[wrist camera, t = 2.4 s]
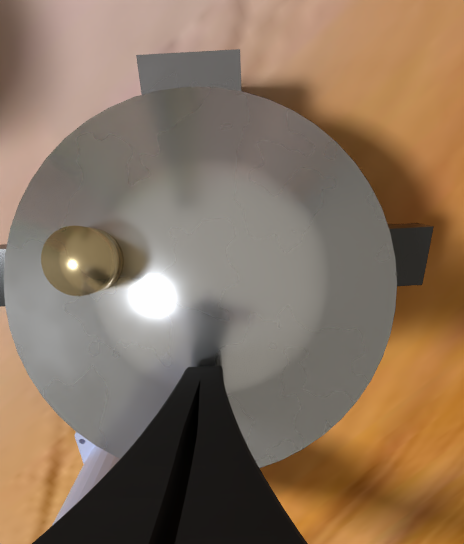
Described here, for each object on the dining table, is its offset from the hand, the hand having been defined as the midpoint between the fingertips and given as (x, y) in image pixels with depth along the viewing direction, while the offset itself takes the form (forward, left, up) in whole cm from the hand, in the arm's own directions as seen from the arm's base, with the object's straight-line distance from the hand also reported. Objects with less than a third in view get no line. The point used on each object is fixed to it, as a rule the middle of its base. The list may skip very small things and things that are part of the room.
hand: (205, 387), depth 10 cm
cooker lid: (+3, 0, -2) cm, 4 cm away
